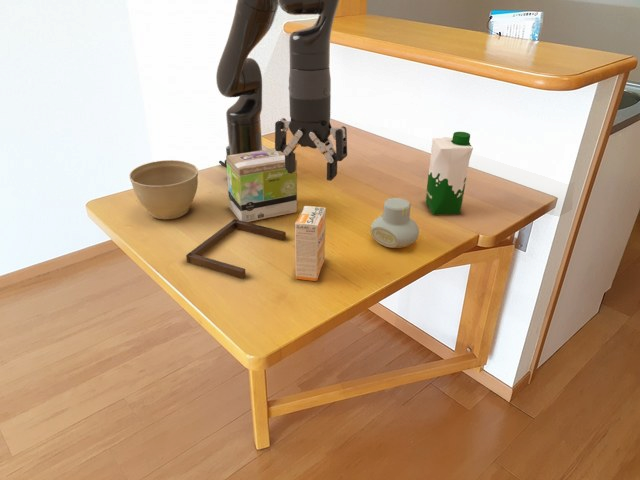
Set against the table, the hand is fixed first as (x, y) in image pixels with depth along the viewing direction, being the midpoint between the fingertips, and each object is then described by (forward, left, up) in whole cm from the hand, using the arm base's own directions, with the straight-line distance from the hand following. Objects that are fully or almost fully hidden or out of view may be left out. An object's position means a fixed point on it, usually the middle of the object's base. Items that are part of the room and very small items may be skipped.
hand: (310, 175), depth 101 cm
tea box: (-22, +16, -20) cm, 34 cm away
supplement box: (+1, -3, -20) cm, 21 cm away
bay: (-16, -3, -20) cm, 26 cm away
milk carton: (+19, +38, -20) cm, 47 cm away
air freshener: (+13, +16, -20) cm, 29 cm away
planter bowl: (-43, +5, -20) cm, 47 cm away
